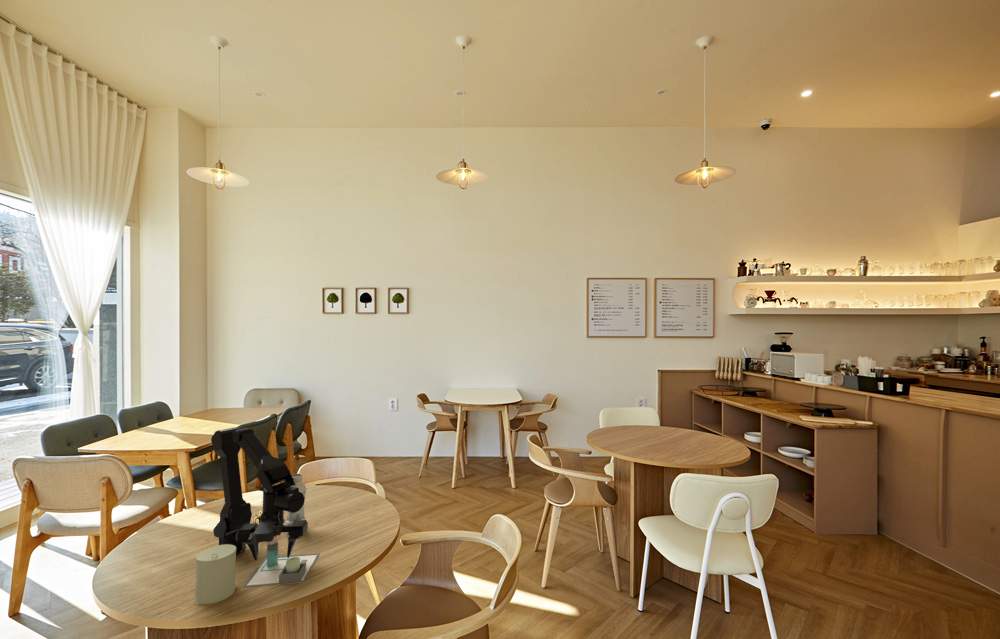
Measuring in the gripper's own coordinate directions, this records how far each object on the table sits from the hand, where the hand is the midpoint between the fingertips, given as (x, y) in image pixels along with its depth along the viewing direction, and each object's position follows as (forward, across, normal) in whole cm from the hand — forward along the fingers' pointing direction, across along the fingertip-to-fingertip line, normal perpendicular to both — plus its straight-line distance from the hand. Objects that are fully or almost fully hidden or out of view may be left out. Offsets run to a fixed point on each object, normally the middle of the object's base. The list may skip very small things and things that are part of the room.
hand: (272, 558), depth 129 cm
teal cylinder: (+2, 0, 0) cm, 2 cm away
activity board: (+2, +4, -4) cm, 6 cm away
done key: (0, +8, -8) cm, 12 cm away
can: (+2, -10, -14) cm, 17 cm away
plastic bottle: (+2, 0, +24) cm, 24 cm away
